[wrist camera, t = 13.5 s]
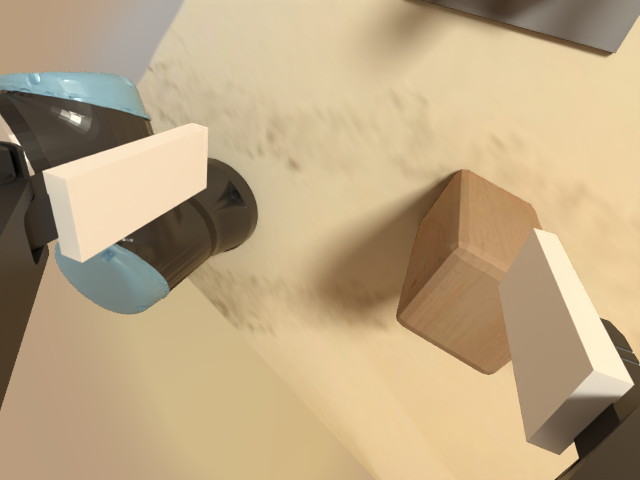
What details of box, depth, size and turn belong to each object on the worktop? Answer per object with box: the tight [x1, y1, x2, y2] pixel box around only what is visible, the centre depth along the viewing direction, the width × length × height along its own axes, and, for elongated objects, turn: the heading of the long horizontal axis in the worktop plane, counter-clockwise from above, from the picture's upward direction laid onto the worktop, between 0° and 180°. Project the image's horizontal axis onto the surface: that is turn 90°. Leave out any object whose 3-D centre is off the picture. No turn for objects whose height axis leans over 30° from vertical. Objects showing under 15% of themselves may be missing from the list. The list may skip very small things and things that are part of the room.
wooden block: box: [396, 169, 542, 375], centre depth 37 cm, size 10×10×20 cm
